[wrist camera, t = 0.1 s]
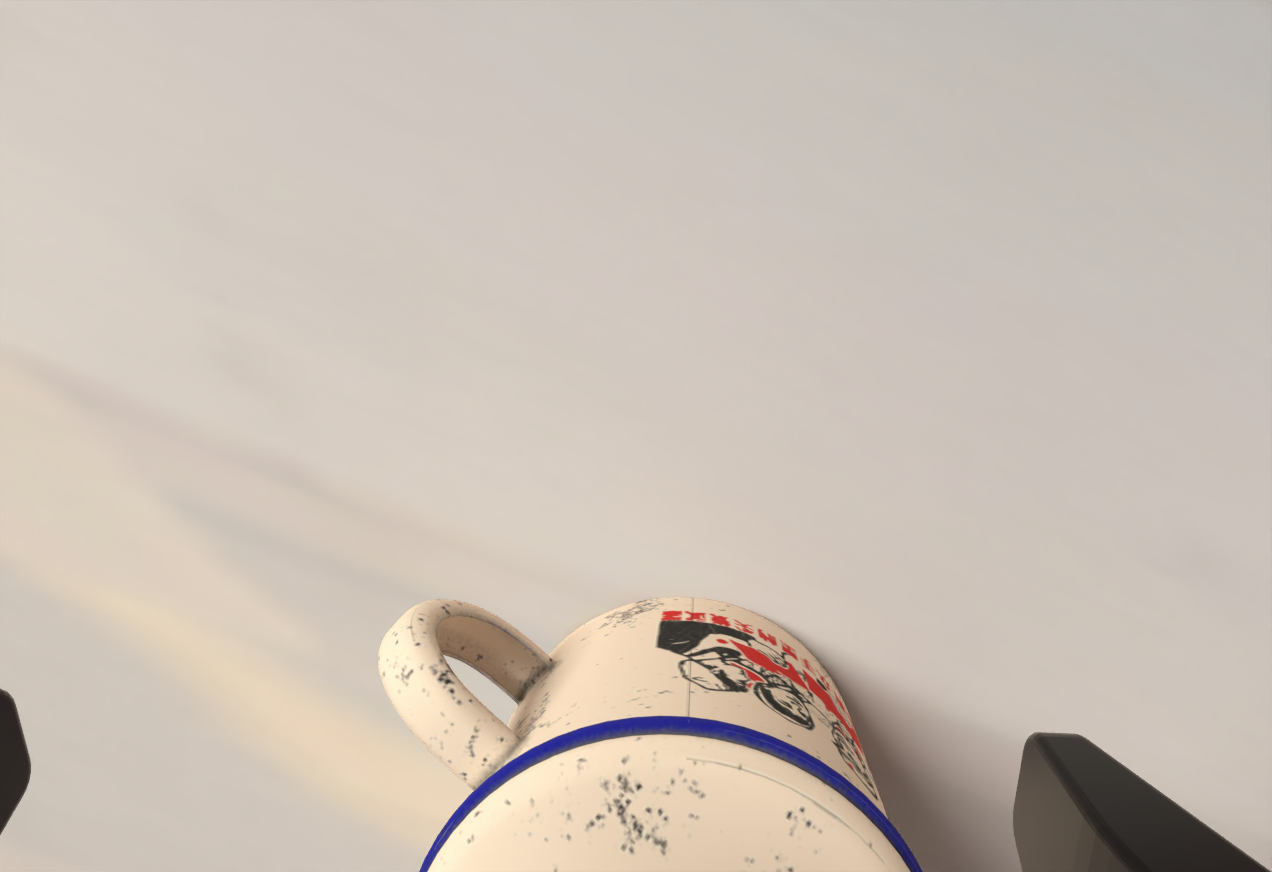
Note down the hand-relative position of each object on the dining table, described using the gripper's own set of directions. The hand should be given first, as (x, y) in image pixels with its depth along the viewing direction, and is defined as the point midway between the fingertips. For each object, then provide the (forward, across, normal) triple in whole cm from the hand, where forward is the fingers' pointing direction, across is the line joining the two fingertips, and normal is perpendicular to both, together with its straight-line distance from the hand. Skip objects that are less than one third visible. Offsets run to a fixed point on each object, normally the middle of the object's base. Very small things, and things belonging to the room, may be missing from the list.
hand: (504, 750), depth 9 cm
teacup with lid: (+14, 0, +10) cm, 17 cm away
